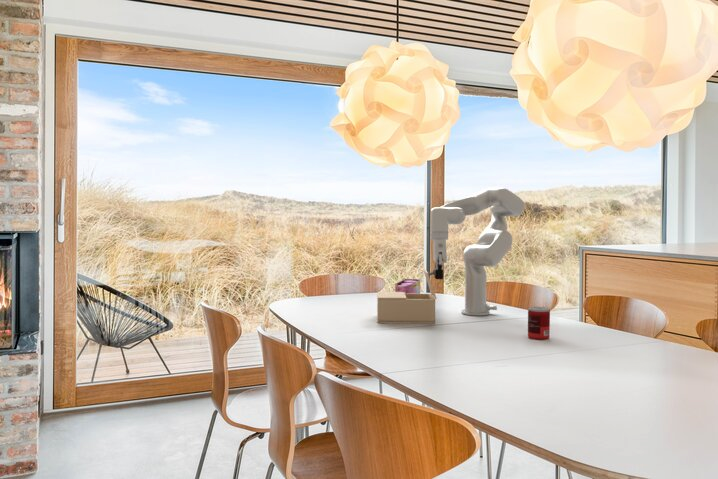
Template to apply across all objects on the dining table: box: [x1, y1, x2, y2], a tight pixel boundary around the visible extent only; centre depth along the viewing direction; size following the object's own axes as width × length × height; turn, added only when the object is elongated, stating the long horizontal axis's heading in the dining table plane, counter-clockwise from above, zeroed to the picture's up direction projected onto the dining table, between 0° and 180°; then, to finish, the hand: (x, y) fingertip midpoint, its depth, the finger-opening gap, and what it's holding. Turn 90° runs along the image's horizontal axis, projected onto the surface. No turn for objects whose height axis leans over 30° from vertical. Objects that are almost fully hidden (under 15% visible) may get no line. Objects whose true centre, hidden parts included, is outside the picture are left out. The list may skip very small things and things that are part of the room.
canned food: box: [527, 306, 551, 341], centre depth 209 cm, size 8×8×11 cm
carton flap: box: [422, 267, 437, 300], centre depth 245 cm, size 12×17×6 cm
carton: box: [376, 291, 436, 324], centre depth 246 cm, size 24×18×11 cm
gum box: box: [394, 278, 421, 294], centre depth 270 cm, size 24×8×14 cm, turn 163°
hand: (438, 278), depth 245 cm, fingers closed on carton flap, 3 cm apart
